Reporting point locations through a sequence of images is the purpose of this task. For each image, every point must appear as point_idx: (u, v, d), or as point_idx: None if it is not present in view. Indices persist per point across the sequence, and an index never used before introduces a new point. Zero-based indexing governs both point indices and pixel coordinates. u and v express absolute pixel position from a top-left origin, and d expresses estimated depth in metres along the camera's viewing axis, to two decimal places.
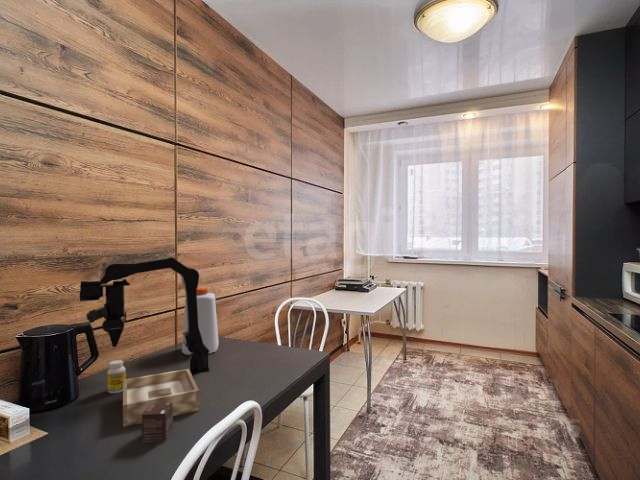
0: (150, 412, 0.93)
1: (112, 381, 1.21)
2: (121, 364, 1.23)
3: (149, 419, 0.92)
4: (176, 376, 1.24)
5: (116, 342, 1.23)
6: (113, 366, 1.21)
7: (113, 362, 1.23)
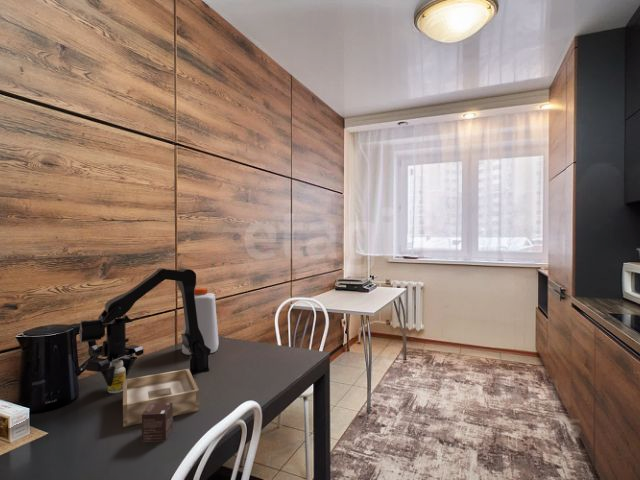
0: (150, 412, 0.93)
1: None
2: (121, 364, 1.23)
3: (149, 419, 0.92)
4: (176, 376, 1.24)
5: (109, 382, 1.20)
6: (113, 366, 1.21)
7: (113, 362, 1.23)
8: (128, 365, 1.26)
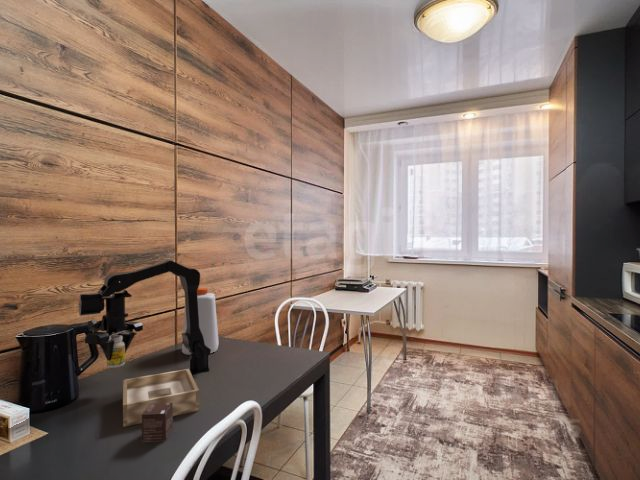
0: (150, 412, 0.93)
1: (112, 356, 1.20)
2: (120, 339, 1.23)
3: (149, 419, 0.92)
4: (176, 376, 1.24)
5: (108, 356, 1.19)
6: None
7: (112, 337, 1.23)
8: (127, 340, 1.25)
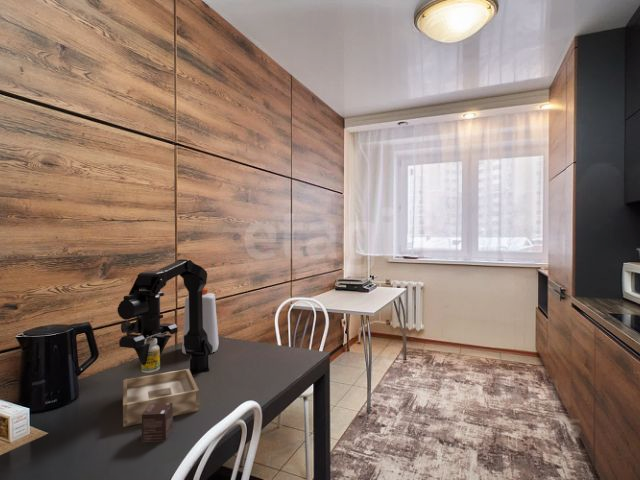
0: (150, 412, 0.93)
1: None
2: (155, 342, 1.14)
3: (149, 419, 0.92)
4: (176, 376, 1.24)
5: (143, 360, 1.11)
6: (147, 343, 1.13)
7: (147, 339, 1.14)
8: (162, 343, 1.17)
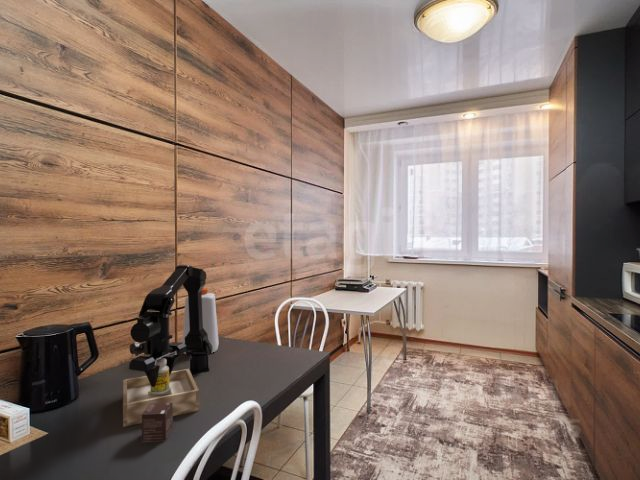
0: (150, 412, 0.93)
1: None
2: (165, 362, 1.13)
3: (149, 419, 0.92)
4: (176, 376, 1.24)
5: (153, 382, 1.10)
6: (156, 364, 1.11)
7: None
8: (171, 364, 1.16)
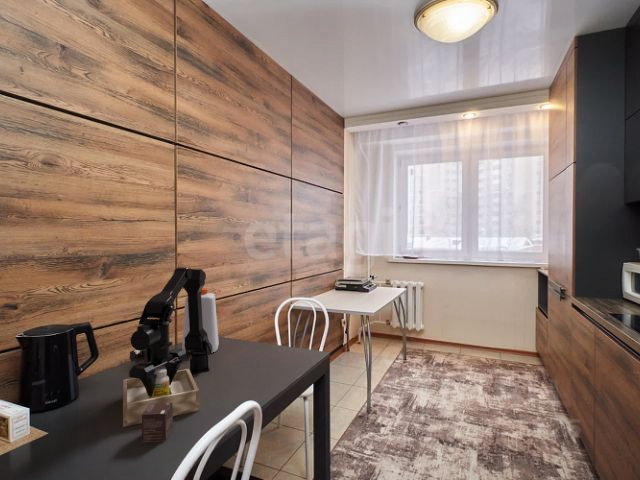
0: (150, 412, 0.93)
1: (156, 392, 1.10)
2: (165, 373, 1.13)
3: (149, 419, 0.92)
4: (176, 376, 1.24)
5: (150, 391, 1.08)
6: None
7: (156, 371, 1.13)
8: (174, 369, 1.17)
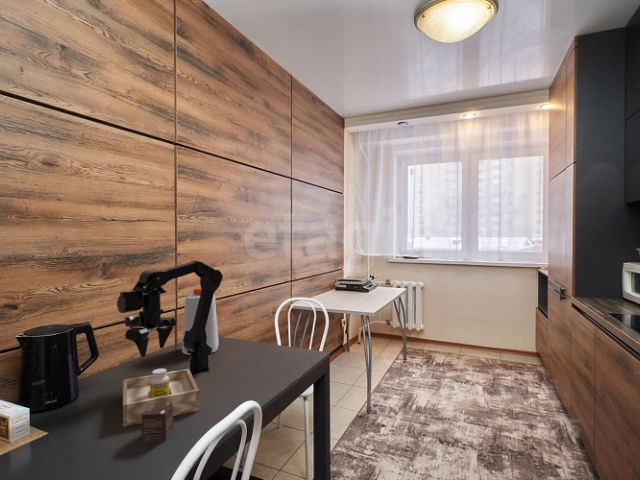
0: (150, 412, 0.93)
1: (156, 392, 1.10)
2: (165, 373, 1.13)
3: (149, 419, 0.92)
4: (176, 376, 1.24)
5: (143, 352, 1.21)
6: (156, 375, 1.11)
7: (156, 371, 1.13)
8: (166, 334, 1.31)
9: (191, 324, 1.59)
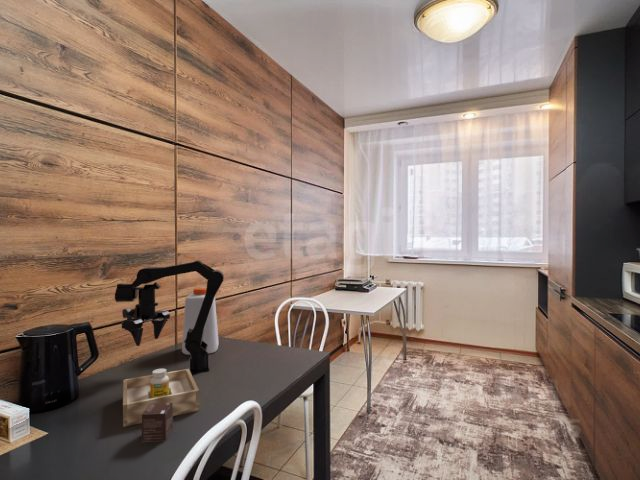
0: (150, 412, 0.93)
1: (156, 392, 1.10)
2: (165, 373, 1.13)
3: (149, 419, 0.92)
4: (176, 376, 1.24)
5: (138, 342, 1.32)
6: (156, 375, 1.11)
7: (156, 371, 1.13)
8: (160, 326, 1.42)
9: (191, 324, 1.59)
